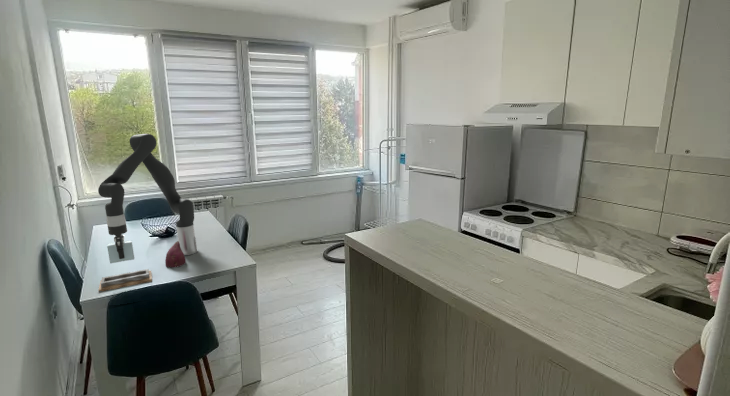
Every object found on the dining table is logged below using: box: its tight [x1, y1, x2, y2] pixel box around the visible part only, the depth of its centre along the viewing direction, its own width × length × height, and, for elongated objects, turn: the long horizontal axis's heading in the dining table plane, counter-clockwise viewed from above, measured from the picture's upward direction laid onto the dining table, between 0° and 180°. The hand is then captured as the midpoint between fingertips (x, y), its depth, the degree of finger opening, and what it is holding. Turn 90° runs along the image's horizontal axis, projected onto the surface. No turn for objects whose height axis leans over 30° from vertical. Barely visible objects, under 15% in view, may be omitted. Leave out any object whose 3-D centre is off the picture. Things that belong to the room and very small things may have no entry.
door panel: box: [106, 240, 135, 264], centre depth 182 cm, size 10×3×9 cm, turn 120°
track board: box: [98, 268, 153, 292], centre depth 186 cm, size 22×12×3 cm, turn 121°
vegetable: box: [164, 240, 187, 269], centre depth 207 cm, size 10×10×15 cm
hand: (122, 257), depth 183 cm, fingers closed on door panel, 3 cm apart
